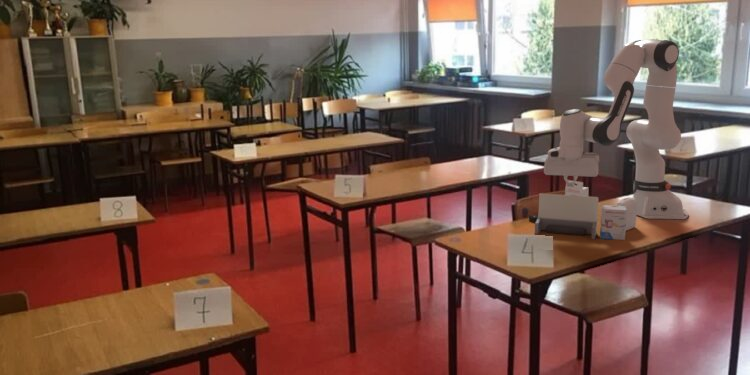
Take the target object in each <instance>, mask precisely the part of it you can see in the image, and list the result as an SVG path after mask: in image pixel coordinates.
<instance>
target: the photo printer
mask: <svg viewBox="0 0 750 375" xmlns="http://www.w3.org/2000/svg"><path fill="white" fill-rule="evenodd" d="M615 206H625V207H626V209H627V217H626V231H629V230H632V229H634V228H635V227H636V226H637V225H636V224H637V215H636V211H637V201H636V200H635V199H634V198H633V197H624V198H622V199H621V200H619V201H618V202H617V203H616V205H615Z"/></svg>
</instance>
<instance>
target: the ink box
mask: <svg viewBox="0 0 750 375" xmlns="http://www.w3.org/2000/svg"><path fill="white" fill-rule="evenodd" d="M600 212H601V214H600V227H599V228H600V231H599V236H600V238H601V239H603V240H619V241H620V240H622V241H625V240H626V231H627V230H626V217H627V209H626V207H625V206H616V205H611V204H610V205H609V204H608V205H606V204H603V205H601V210H600Z"/></svg>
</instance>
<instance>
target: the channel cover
mask: <svg viewBox="0 0 750 375" xmlns="http://www.w3.org/2000/svg"><path fill="white" fill-rule="evenodd" d="M538 195H539V197H538V212H537V214H538V218H549V219H562V220H576V221H590V222H597V223H598V214H599V213H598V212H599V196H589V195H588V196H571V195H565V194H555V193H554V194H552V193H539V194H538Z"/></svg>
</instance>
